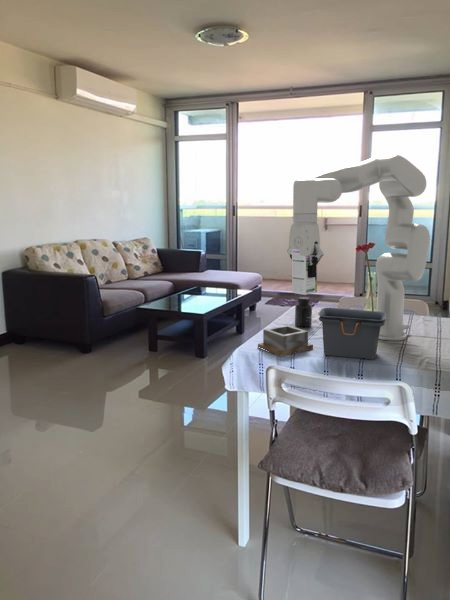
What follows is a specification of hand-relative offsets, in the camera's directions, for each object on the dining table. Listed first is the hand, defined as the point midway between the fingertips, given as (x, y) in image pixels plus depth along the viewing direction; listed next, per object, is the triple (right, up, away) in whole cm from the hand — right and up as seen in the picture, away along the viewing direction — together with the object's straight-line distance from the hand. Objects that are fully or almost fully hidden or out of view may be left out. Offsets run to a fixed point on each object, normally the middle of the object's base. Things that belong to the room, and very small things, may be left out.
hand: (304, 275), depth 160 cm
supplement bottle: (+7, -19, +44) cm, 49 cm away
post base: (-4, -25, +15) cm, 29 cm away
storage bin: (+16, -27, +6) cm, 32 cm away
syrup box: (0, -6, +1) cm, 6 cm away
